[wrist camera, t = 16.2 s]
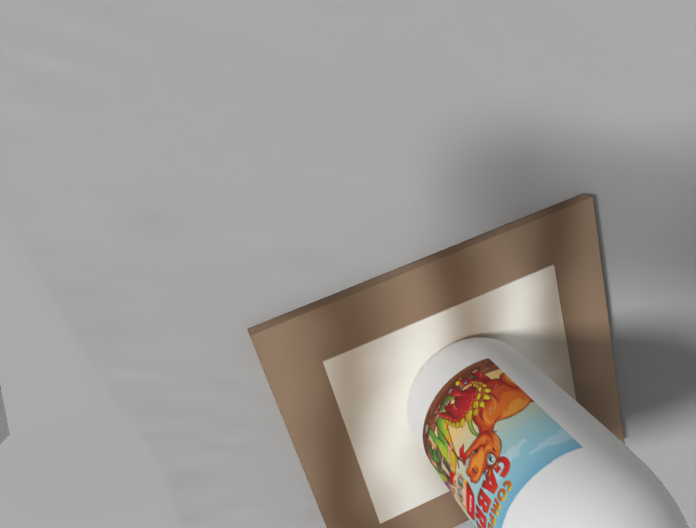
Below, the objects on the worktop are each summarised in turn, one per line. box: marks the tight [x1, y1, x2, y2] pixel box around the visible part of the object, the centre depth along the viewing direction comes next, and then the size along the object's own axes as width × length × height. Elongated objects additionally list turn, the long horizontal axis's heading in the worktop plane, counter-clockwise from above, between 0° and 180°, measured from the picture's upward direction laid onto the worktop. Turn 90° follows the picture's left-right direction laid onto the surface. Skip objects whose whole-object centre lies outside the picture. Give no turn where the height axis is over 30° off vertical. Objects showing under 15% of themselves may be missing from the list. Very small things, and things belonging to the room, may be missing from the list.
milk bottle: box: [407, 337, 689, 528], centre depth 30 cm, size 8×8×20 cm
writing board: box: [248, 194, 625, 528], centre depth 39 cm, size 20×18×1 cm
